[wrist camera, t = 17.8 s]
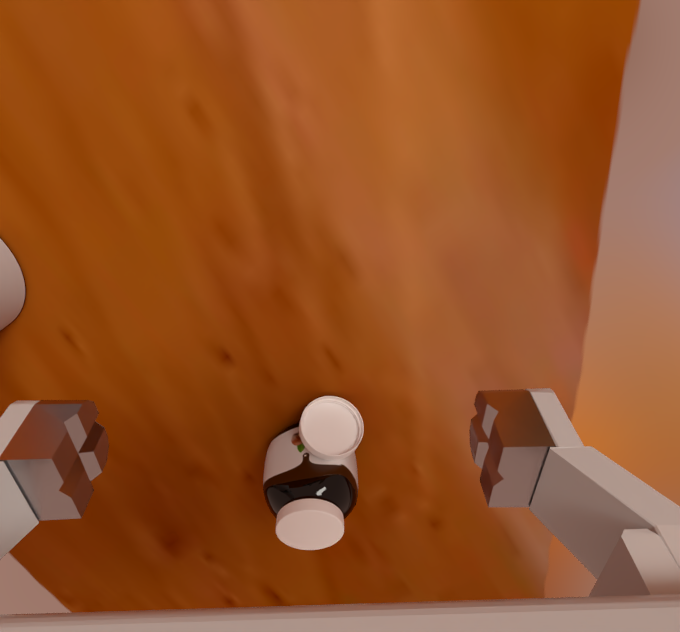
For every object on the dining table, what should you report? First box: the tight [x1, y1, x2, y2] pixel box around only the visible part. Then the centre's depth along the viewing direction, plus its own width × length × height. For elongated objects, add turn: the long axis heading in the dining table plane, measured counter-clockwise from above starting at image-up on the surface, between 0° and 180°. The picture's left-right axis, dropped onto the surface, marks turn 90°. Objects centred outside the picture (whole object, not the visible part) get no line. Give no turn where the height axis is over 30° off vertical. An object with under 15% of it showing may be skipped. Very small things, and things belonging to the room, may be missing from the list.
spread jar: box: [263, 396, 364, 550], centre depth 54 cm, size 12×11×12 cm
